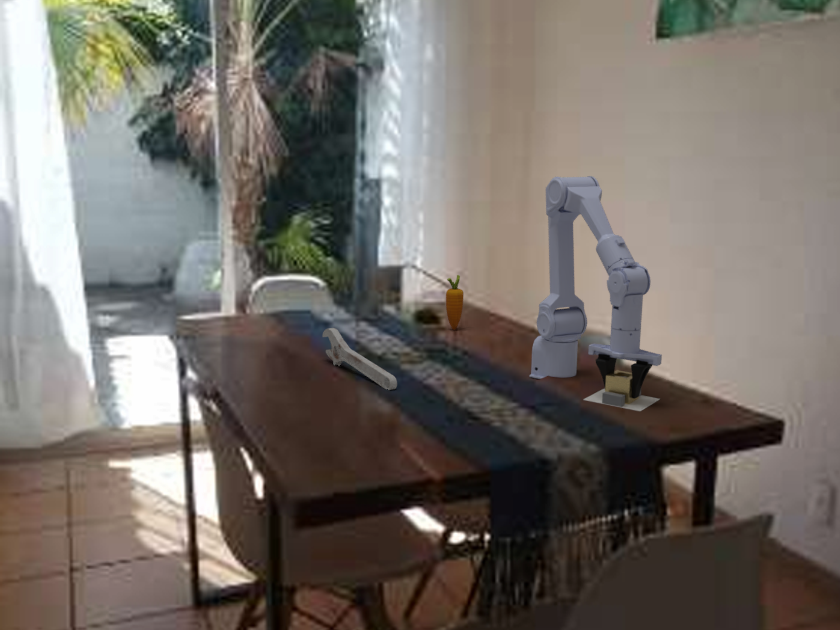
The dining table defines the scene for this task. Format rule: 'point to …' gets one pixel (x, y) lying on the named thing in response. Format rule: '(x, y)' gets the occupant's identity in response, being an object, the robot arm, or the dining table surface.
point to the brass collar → (620, 384)
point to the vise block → (621, 400)
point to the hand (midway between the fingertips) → (621, 394)
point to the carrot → (454, 303)
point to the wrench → (357, 360)
